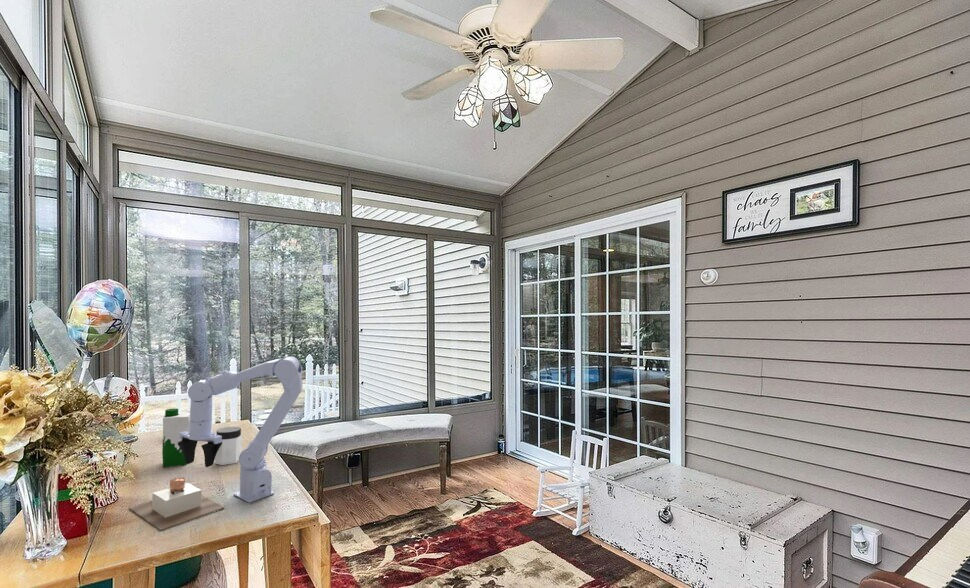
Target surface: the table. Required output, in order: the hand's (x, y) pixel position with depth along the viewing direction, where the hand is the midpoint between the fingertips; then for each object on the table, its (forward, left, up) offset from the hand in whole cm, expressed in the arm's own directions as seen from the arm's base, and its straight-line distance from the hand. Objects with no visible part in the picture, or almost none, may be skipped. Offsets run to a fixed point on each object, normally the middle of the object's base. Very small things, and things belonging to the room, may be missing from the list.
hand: (199, 464), depth 137 cm
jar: (+26, -21, -11) cm, 35 cm away
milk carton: (+39, -9, -11) cm, 41 cm away
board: (-2, +7, -10) cm, 13 cm away
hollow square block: (-2, +7, -10) cm, 13 cm away
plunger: (-2, +7, -10) cm, 12 cm away
